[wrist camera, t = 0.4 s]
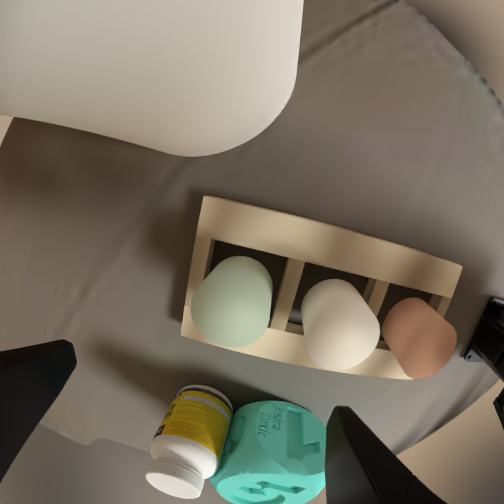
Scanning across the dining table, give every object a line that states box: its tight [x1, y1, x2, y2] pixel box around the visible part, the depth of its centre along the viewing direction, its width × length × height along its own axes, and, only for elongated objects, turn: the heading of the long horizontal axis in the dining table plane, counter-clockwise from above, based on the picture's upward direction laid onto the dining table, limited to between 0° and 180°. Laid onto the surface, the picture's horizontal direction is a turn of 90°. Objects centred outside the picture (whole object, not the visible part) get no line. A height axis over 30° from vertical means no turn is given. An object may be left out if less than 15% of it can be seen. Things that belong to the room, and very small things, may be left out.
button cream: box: [301, 279, 380, 370], centre depth 15 cm, size 4×4×4 cm
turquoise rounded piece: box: [209, 401, 326, 504], centre depth 18 cm, size 8×8×8 cm
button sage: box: [190, 256, 273, 348], centre depth 15 cm, size 4×4×4 cm
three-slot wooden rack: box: [181, 196, 462, 380], centre depth 18 cm, size 19×10×2 cm, turn 78°
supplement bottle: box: [146, 385, 233, 499], centre depth 17 cm, size 5×5×10 cm
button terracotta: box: [382, 297, 457, 379], centre depth 15 cm, size 4×4×4 cm
